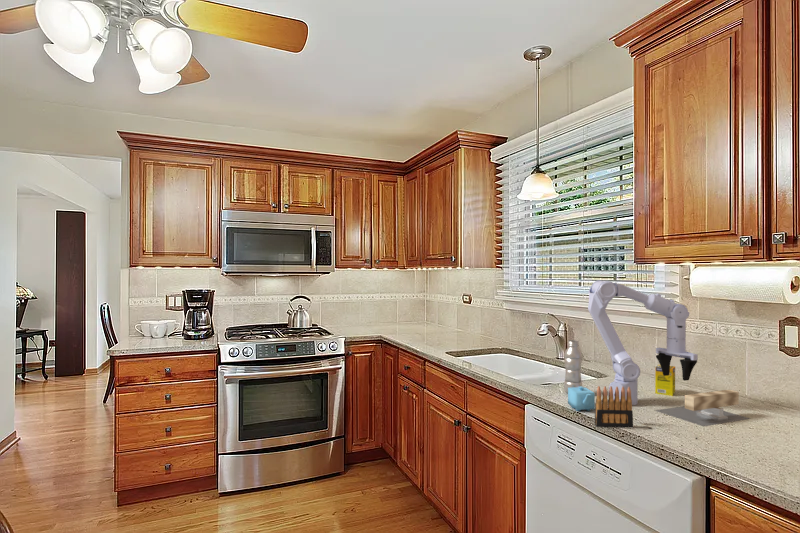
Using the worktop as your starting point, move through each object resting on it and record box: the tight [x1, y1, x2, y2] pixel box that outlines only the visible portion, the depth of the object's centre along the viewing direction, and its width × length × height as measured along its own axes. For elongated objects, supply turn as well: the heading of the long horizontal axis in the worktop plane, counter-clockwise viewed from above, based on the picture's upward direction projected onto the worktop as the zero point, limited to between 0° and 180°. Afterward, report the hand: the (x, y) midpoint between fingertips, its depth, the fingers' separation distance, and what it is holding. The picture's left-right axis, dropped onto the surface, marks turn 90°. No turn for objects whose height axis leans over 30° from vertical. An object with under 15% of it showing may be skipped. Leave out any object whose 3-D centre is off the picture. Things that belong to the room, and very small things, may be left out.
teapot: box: [567, 385, 596, 412], centre depth 162 cm, size 12×6×8 cm, turn 3°
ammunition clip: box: [594, 385, 634, 429], centre depth 145 cm, size 11×2×12 cm, turn 86°
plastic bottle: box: [563, 339, 584, 394], centre depth 182 cm, size 6×7×20 cm
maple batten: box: [684, 389, 740, 411], centre depth 151 cm, size 20×3×4 cm, turn 111°
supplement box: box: [654, 364, 676, 397], centre depth 181 cm, size 6×6×11 cm
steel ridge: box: [697, 407, 728, 422], centre depth 151 cm, size 4×7×4 cm, turn 21°
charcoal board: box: [654, 405, 752, 427], centre depth 154 cm, size 21×17×1 cm
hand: (675, 377), depth 166 cm, fingers open, 7 cm apart
